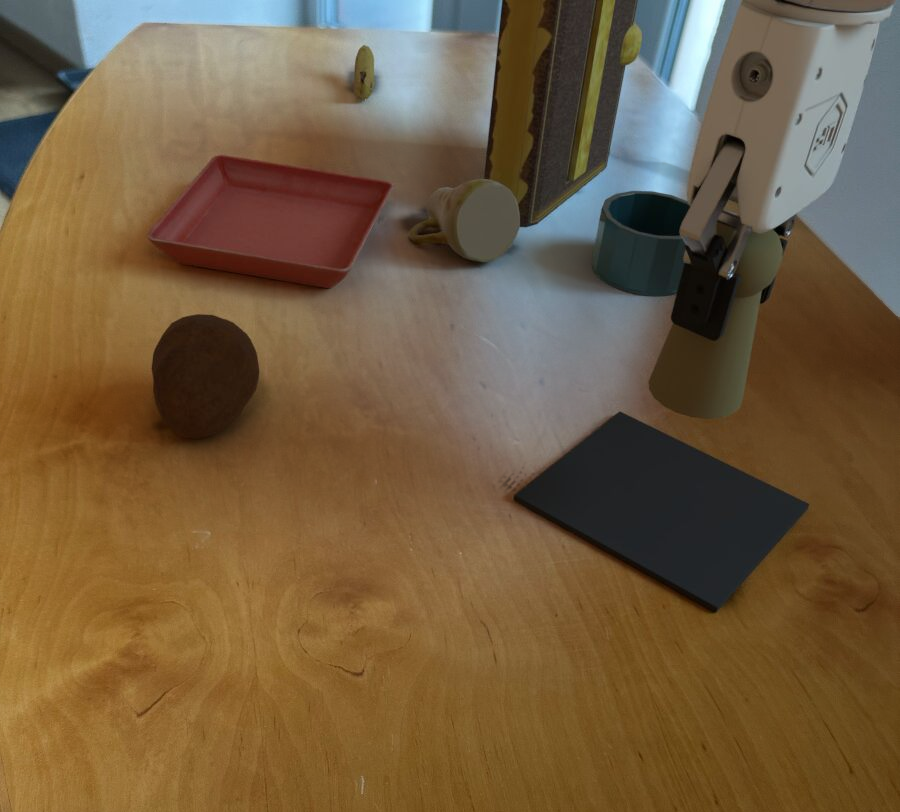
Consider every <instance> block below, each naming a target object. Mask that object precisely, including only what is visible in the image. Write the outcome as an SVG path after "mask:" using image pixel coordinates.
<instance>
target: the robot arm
mask: <svg viewBox="0 0 900 812" xmlns="http://www.w3.org/2000/svg"><path fill="white" fill-rule="evenodd" d="M895 2H896V0H741V2H740V3H739V6H738V9H737V13H736V15H735V18H734V20H733V23H732V26H731V29H730V31H729V34H728V38H727V41H726V43H725V47H724V50H723V53H722V56H721V59H720V61H719V66H718V68H717V71H716V74H715V78H714V81H713V84H712V87H711V91H710V94H709V98H708V101H707V105H706V108H705V112H704V115H703V117H702V118H703V119H702V122H701V125H700V129H699V133H698V137H697V140H696V144H695V149H694V153H693V157H692V161H691V165H690V169H689V175H688V180H687V187H686V199H687V201H688V202H689V204H690V208H689V210H688V212H687V214H686V216H685V218H684V220H683V221H682V224H681V226H680V231H679V233H680V236H681V237H682V239H683V241H684V242H685V248H686V250H685V253H684V256H683V261H684V262H685V264H684V267H683V271H682V275H681V279H680V283H679V287H678V291H677V293H676V294H675V298H674V302H673V307H672V309H671V310H672V311H671V315H670V320H671V323H672V324H673V323H674V324H675V325H678V326H680V327H682V328H685V329H687V330H689V331H691V332H694V333H696V334H698V335H700V336H703V337H705V338H707V339H710V340H712V341H716V340H718V339H719V338H720V337H721V336H722V335H723V333H724V330H725V327H726V323H727V320H728V317H729V314H730V310H731V307H732V304H733V300H734V297H735V294H736V290H737V287H738V284H739V281H740V277H741V275H738V274H736V273H735V271H736V269H737V266H738V264H739V261H740V259H741V256H742V254H743V251H744V249H745V246H746V244H747V242H748V239H749V237H750V234H751V232H752V230H753V231H754V232H756V233H759V234H761V233H765V232H768V231H770V230H772V229H773V230H774V231H775V232H776V233H777V234H778V235H779V238H780V241H781V245H782V249H783V254H782V258H783V257H784V253H785V251H786V248H787V245H788V240H787V239H786V238H788V237H789V236H790V234H791V233H792V231H793V228H794V227H795V223H796V219H797V215H798V214H799V212H801V211H802V210H803V209H805V208H807V207H808V206H809V205H811V204H812V203H813V202H814V201H816V200H817V199H819V198H820V197H822V195H824V194H825V193H826V192H827V191H828V190H829V189H830V187H832V185H833V183H834V182H835V180H836V178H837V175H838V172H839V170H840V166H841V163H842V160H843V157H844V154H845V150H846V147H847V143H848V140H849V137H850V134H851V130H852V127H853V124H854V121H855V118H856V115H857V114H856V113H857V111H858V107H859V104H860V101H861V97H862V94H863V91H864V87H865V84H866V80H867V76H868V73H869V69H870V66H871V62H872V58H873V54H874V50H875V46H876V42H877V40H878V39H877V38H878V35H879V29H880V25H881V23H882V22H884V21H885V20H888V19H889V18H890V17H891V14H892V11H893V8H894V5H895ZM729 201H731V202H734V203H737V204H738V213H736V212H734V211H730V210H728V209H726V208H725V207H726V205H727V203H728V202H729ZM717 222H719V223H721V224H724V225H727V226H729V227H732V228H734V229H735V231H734V233H733V236H732V238H731V241H730V243H729V246H728V248H727V247H726V244H725V241H724V238H723V237H721V236H719V235H717V229H716V224H717ZM782 237H783V238H782ZM776 279H777V275H776V276H775V278H774V279H773V281H772V282H771V284H770V285H768V286H767V287H766V288H764V289H763V290H762V293H761V299H760V305H762V304H764V303H765V302H766V301H768V300H769V299H770V296H771V294H772V290H773V287H774V284H775V281H776Z"/></svg>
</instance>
